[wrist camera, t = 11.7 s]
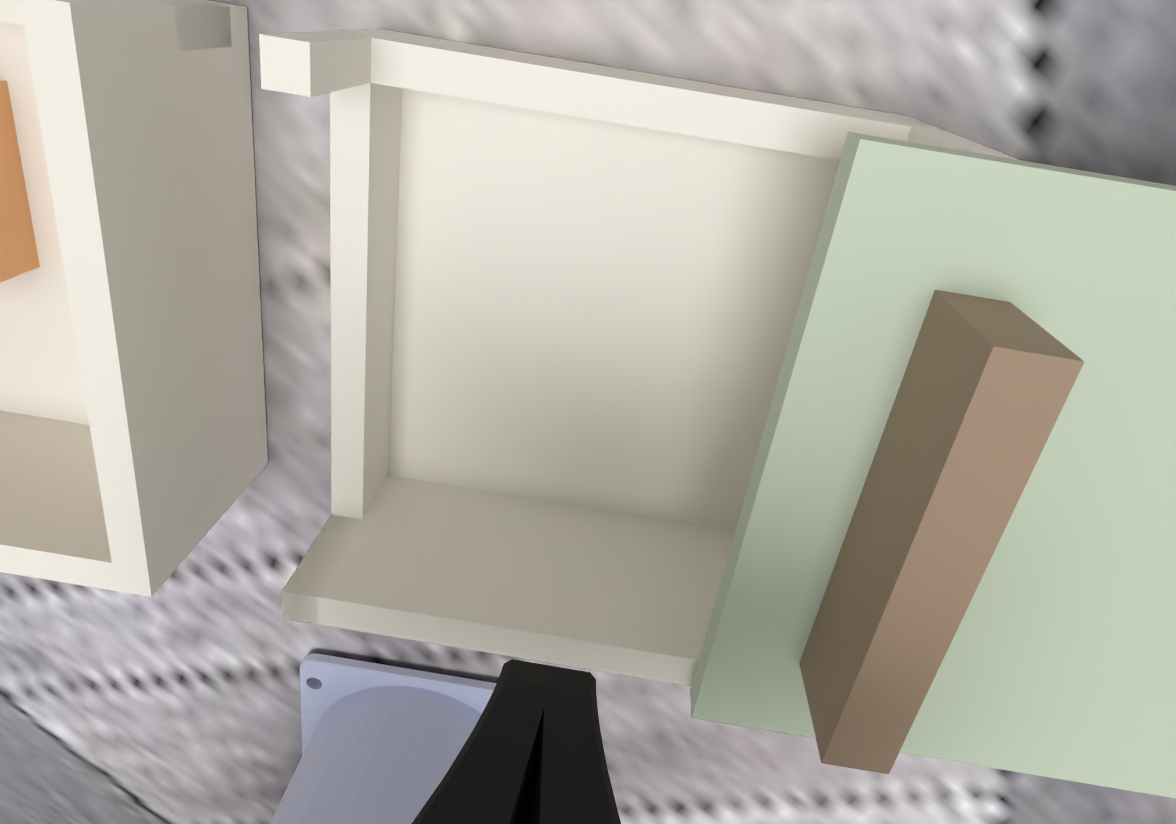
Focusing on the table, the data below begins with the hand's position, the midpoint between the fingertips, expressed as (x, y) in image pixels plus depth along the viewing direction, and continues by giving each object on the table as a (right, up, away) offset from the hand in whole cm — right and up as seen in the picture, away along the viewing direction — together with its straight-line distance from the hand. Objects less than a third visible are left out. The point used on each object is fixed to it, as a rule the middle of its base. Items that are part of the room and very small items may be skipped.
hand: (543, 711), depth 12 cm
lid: (+10, +3, +3) cm, 10 cm away
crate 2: (+1, +7, +8) cm, 11 cm away
